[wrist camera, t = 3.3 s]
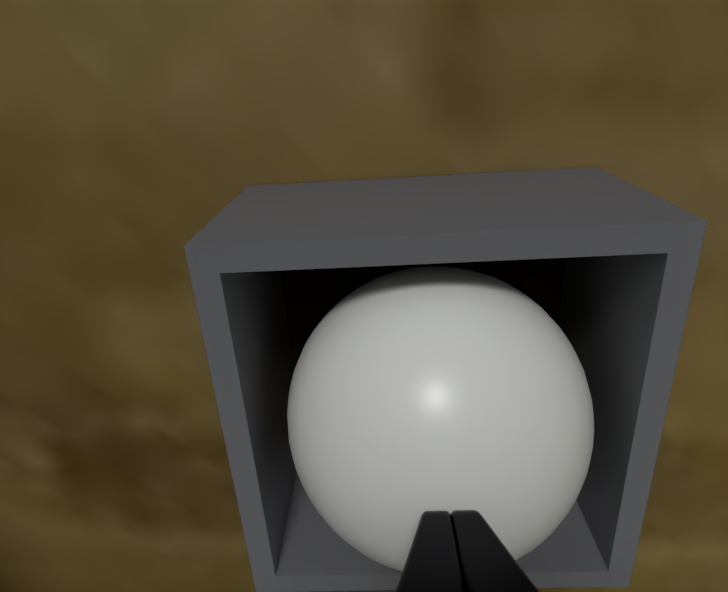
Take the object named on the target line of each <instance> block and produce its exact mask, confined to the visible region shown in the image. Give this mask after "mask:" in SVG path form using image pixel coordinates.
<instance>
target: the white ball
mask: <svg viewBox="0 0 728 592" xmlns="http://www.w3.org/2000/svg"><path fill="white" fill-rule="evenodd" d="M287 421H288V437H289V444H290V449H291V453H292V457H293V461H294V465H295V468H296V471H297V474H298V476H299V479H300V481H301V484H302V486H303V487H304V489H305V491H306V493H307V495H308V497H309V499H310V500H311V502H312V504H313V505H314V507H315V509H316V510H317V511H318V512H319V514H320V515H321V516H322V517H323V519H324V520H325V521H326V522H327V523H328V525H329V526H330V527H331V528H332V529H333V530H334V531H335V532H336V533H337V534H338V535H339V536H340V537H341V538H342V539H343V540H344V541H346V542H347V543H348V544H350V545H351V546H353V547H354V548H355V549H357V550H358V551H359V552H361V553H362V554H363V555H365V556H367V557H369V558H370V559H372V560H374V561H376V562H378V563H380V564H383V565H385V566H387V567H390V568H393V569H396V570H399V571H403V568H404V565H405V562H406V560H407V557H408V554H409V551H410V548H411V545H412V542H413V539H414V536H415V533H416V530H417V527H418V524H419V522H420V519H421V516H422V514H423V513H424V512H425V511H448V512H449V513H450V515H451V513H452V512H453V511H455V510H476V511H478V512H479V513H480V514H481V515H482V516H483V518H484V519H485V520H486V522H487V523H488V524H489V526H490V527H491V528H492V530H493V531H494V532H495V534H496V535H497V536H498V538H499V539H500V540H501V542H502V543H503V544H504V546H505V547H506V548H507V550H508V551H509V552H510V554H511V555H512V556H513V558H514V559H515V560H517V559H519V558H520V557H522V556H524V555H525V554H527V553H529V552H530V551H532V550H533V549H534V548H536V547H537V546H538V545H540V544H541V543H542V542H543V541H544V540H545V539H546V538H547V537H548V536H550V535H551V534H552V533H553V531H554V530H555V529H556V528H557V527H558V525H559V524H560V523H561V522H562V520H563V519H564V518H565V517H566V515H567V514H568V513H569V511H570V510H571V508H572V506H573V504H574V503H575V501H576V499H577V497H578V495H579V493H580V490H581V488H582V486H583V483H584V481H585V478H586V476H587V473H588V468H589V464H590V460H591V455H592V449H593V441H594V414H593V404H592V398H591V394H590V390H589V386H588V383H587V379H586V375H585V372H584V369H583V367H582V365H581V363H580V361H579V358H578V356H577V354H576V352H575V350H574V348H573V346H572V345H571V343H570V341H569V340H568V338H567V337H566V335H565V334H564V333H563V331H562V330H561V328H560V327H559V326H558V325H557V324H556V323H555V321H554V320H553V319H552V318H551V317H550V316H549V315H548V314H547V313H546V312H545V311H544V310H543V308H542V307H540V306H539V305H538V304H537V303H535V302H534V301H533V300H532V299H530V298H529V297H528V296H526V295H525V294H523V293H522V292H520V291H519V290H517V289H515V288H514V287H512V286H510V285H509V284H507V283H505V282H503V281H501V280H498V279H496V278H494V277H491V276H489V275H486V274H483V273H479V272H475V271H472V270H468V269H462V268H455V267H448V266H424V267H415V268H409V269H404V270H400V271H396V272H392V273H389V274H387V275H384V276H381V277H378V278H376V279H374V280H372V281H370V282H368V283H366V284H364V285H363V286H361V287H359V288H357V289H356V290H355V291H353V292H352V293H350V294H349V295H347V296H346V297H344V298H343V299H342V300H341V301H340V302H339V303H337V304H336V305H335V306H334V307H333V308H332V309H331V310H330V311H329V312H328V313H327V314H326V316H325V317H324V318H323V319H322V320H321V322H320V323H319V324H318V325H317V327H316V328H315V329H314V331H313V332H312V334H311V335H310V337H309V339H308V340H307V342H306V344H305V346H304V348H303V350H302V353H301V355H300V357H299V359H298V362H297V364H296V367H295V369H294V373H293V377H292V381H291V385H290V391H289V397H288V408H287Z"/></svg>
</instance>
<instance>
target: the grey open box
mask: <svg viewBox="0 0 728 592" xmlns="http://www.w3.org/2000/svg"><path fill="white" fill-rule="evenodd" d="M706 224H707V220H705V219H702V218H700V217H698V216H696V215H694V214H692V213H690V212H688V211H686V210H684V209H682V208H680V207H678V206H676V205H674V204H672V203H670V202H668V201H665V200H663V199H661V198H659V197H657V196H655V195H653V194H651V193H649V192H647V191H645V190H643V189H641V188H639V187H637V186H635V185H633V184H631V183H628V182H626V181H624V180H622V179H620V178H618V177H616V176H614V175H612V174H610V173H608V172H606V171H604V170H602V169H600V168H598V167H588V168H569V169H551V170H532V171H513V172H494V173H476V174H457V175H438V176H420V177H401V178H382V179H364V180H345V181H326V182H307V183H289V184H270V185H251V186H247V187H246V188H245V189H244V190H243V191H242V192H241V193H240V194H239V195H238V196H237V197H236V198H234V199H233V200H232V201H231V202H230V203H229V204H228V205H227V206H226V207H225V208H224V209H223V210H222V211H221V212H220V213H218V214H217V215H216V216H215V217H214V218H213V219H212V220H211V221H210V222H209V223H208V224H207V225H206V226H205V227H204V228H203V229H201V230H200V231H199V232H198V233H197V234H196V235H195V236H194V237H193V238H192V239H191V240H190V241H189V242H188V243H187V244H185V245H184V248H185V253H186V258H187V263H188V268H189V272H190V277H191V282H192V287H193V291H194V296H195V301H196V306H197V311H198V315H199V320H200V325H201V330H202V335H203V339H204V344H205V349H206V354H207V358H208V363H209V368H210V373H211V378H212V382H213V387H214V392H215V397H216V402H217V406H218V411H219V416H220V421H221V425H222V430H223V435H224V440H225V445H226V449H227V454H228V459H229V464H230V469H231V473H232V478H233V483H234V488H235V492H236V497H237V502H238V507H239V512H240V516H241V521H242V526H243V531H244V536H245V540H246V545H247V550H248V555H249V559H250V564H251V569H252V574H253V579H254V583H255V588H256V592H301V591H371V590H396V589H397V586H398V583H399V580H400V577H401V574H402V571H399V570H396V569H393V568H390V567H387V566H385V565H383V564H380V563H378V562H376V561H374V560H372V559H370V558H369V557H367V556H365V555H363V554H362V553H361V552H359V551H358V550H357V549H355V548H354V547H353V546H351V545H350V544H348V543H347V542H346V541H344V540H343V539H342V538H341V537H340V536H339V535H338V534H337V533H336V532H335V531H334V530H333V529H332V528H331V527H330V526H329V525H328V523H327V522H326V521H325V520H324V519H323V517H322V516H321V515H320V514H319V512H318V511H317V510H316V509H315V507H314V505H313V504H312V502H311V500H310V499H309V497H308V495H307V493H306V491H305V489H304V487H303V486H302V484H301V481H300V479H299V476H298V474H297V471H296V468H295V465H294V461H293V457H292V453H291V449H290V444H289V437H288V421H287V408H288V397H289V391H290V385H291V381H292V377H293V373H294V371H293V363H292V356H291V348H290V341H289V333H288V326H287V318H286V311H285V303H284V296H283V288H282V281H281V273H280V271H282V270H304V269H326V268H348V267H370V266H392V265H415V264H437V263H459V262H481V261H503V260H525V259H547V258H565V267H564V277H563V287H562V296H561V306H560V316H559V325H558V326H559V327H560V328H561V330H562V331H563V333H564V334H565V335H566V337H567V338H568V340H569V341H570V343H571V345H572V346H573V348H574V350H575V352H576V354H577V356H578V358H579V361H580V363H581V365H582V367H583V369H584V372H585V375H586V379H587V383H588V386H589V390H590V394H591V398H592V404H593V414H594V441H593V449H592V455H591V460H590V464H589V468H588V473H587V476H586V478H585V481H584V483H583V486H582V488H581V490H580V493H579V495H578V497H577V499H576V501H575V503H574V504H573V506H572V508H571V510H570V511H569V513H568V514H567V515H566V517H565V518H564V519H563V520H562V522H561V523H560V524H559V525H558V527H557V528H556V529H555V530H554V531H553V533H552V534H551V535H550V536H548V537H547V538H546V539H545V540H544V541H543V542H542V543H541V544H540V545H538V546H537V547H536V548H534V549H533V550H532V551H530V552H529V553H527V554H525V555H524V556H522V557H520V558H519V559H517V560H516V562H517V563H518V564H519V566H520V567H521V568H522V570H523V571H524V573H525V574H526V575H527V577H528V578H529V579H530V581H531V582H532V583H533V585H534V586H535V587H536V588H579V587H629V584H630V579H631V575H632V570H633V565H634V561H635V556H636V551H637V547H638V542H639V537H640V533H641V528H642V523H643V519H644V514H645V509H646V505H647V500H648V495H649V490H650V486H651V481H652V476H653V472H654V467H655V462H656V458H657V453H658V448H659V444H660V439H661V434H662V430H663V425H664V420H665V416H666V411H667V406H668V402H669V397H670V392H671V388H672V383H673V378H674V374H675V369H676V364H677V360H678V355H679V350H680V346H681V341H682V336H683V332H684V327H685V322H686V318H687V313H688V308H689V304H690V299H691V294H692V290H693V285H694V280H695V276H696V271H697V266H698V261H699V257H700V252H701V247H702V243H703V238H704V233H705V229H706Z"/></svg>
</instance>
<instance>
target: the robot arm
mask: <svg viewBox="0 0 728 592" xmlns="http://www.w3.org/2000/svg"><path fill="white" fill-rule="evenodd" d="M396 592H539V591H538V590H537V589H536V587H535V586H534V585H533V583H532V582H531V581H530V579H529V578H528V577H527V575H526V574H525V573H524V571H523V570H522V568H521V567H520V566H519V564H518V563H517V562H516V560H515V559H514V558H513V556H512V555H511V554H510V552H509V551H508V550H507V548H506V547H505V546H504V544H503V543H502V542H501V540H500V539H499V538H498V536H497V535H496V534H495V532H494V531H493V530H492V528H491V527H490V526H489V524H488V523H487V522H486V520H485V519H484V518H483V516H482V515H481V514H480V513H479V512H478V511H476V510H455V511H453V512H452V513H451V515H450V513H449V512H448V511H425V512H424V513H423V514H422V516H421V519H420V522H419V524H418V527H417V530H416V533H415V536H414V539H413V542H412V545H411V548H410V551H409V554H408V557H407V560H406V562H405V565H404V568H403V571H402V574H401V577H400V580H399V583H398V586H397V589H396Z"/></svg>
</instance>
